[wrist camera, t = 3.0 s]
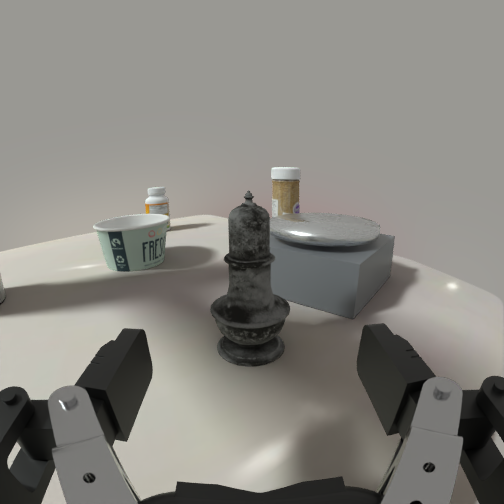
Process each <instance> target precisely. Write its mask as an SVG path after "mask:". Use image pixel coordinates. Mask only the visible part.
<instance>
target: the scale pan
mask: <svg viewBox="0 0 504 504" xmlns="http://www.w3.org/2000/svg"><path fill="white" fill-rule="evenodd" d="M270 235H272V236H274V237H276V238H278V239H281V240H285V241H289V242H294V243H300V244H307V245H317V246H356V245H364V244H369V243H372V242H375V241H377V240H378V239H379V235H380V225H379V224H378V223H376V222H374V221H371V220H368V219H365V218H361V217H355V216H349V215H342V214H330V213H294V214H285V215H279V216H275V217H272V218H271V219H270Z"/></svg>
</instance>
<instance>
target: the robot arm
mask: <svg viewBox="0 0 504 504" xmlns="http://www.w3.org/2000/svg"><path fill="white" fill-rule="evenodd" d="M5 296H6V295H5V291H4V287H3V283H2V279H1V274H0V303H1V302H2V301H3V300H4V298H5ZM152 371H153V368H152V361H151V357H150V352H149V347H148V343H147V338H146V333H145V331H144V330H143V329H127V328H124V329H123V330H122V331H121V333H120V334H119V336H118V337H117V338H116V340H115V341H114V340H111V341H109V342H108V343H107V344H105V345H104V346H102V347H101V348H100V350H99V351H98V352H97V354H96V355H95V357H94V358H93V359H92V361H91V364H89V365H88V366H87V368H86V369H85V371H84V372H83V374H82V375H81V377H80V378H79V379H78V381H77V382H76V384H75V385H74V386H65V387H62V388H59V389H57V390H56V391H55V392H53V393H52V394H51V396H50V397H49V399H48V400H30V398H29V396H28V394H27V392H26V391H25V390H24V389H23V388H21V387H8V388H6V389H4V390H2V391H0V504H41V503H42V500H43V497H44V495H45V492H46V490H47V487H48V485H49V482H50V480H51V477H52V475H53V473H54V470H55V468H56V470H57V474H58V477H59V481H60V484H61V487H62V490H63V494H64V497H65V500H66V502H67V504H449V503H450V500H451V496H452V492H453V488H454V484H455V480H456V476H457V471H458V467H459V462H460V464H461V466H462V468H463V470H464V472H465V474H466V476H467V478H468V480H469V482H470V484H471V487H472V489H473V491H474V493H475V495H476V497H477V500H478V502H479V504H504V458H503V456H502V455H501V453H500V452H499V450H498V448H497V447H496V445H495V443H494V442H493V440H492V438H491V436H492V435H493V433H494V432H495V430H496V431H497V433H498V434H499V436H500V437H501V439H502V440H503V442H504V378H503V377H499V376H491V377H488V378H486V379H485V380H484V381H483V383H482V385H481V388H480V390H462V389H461V387H460V386H459V385H458V384H457V383H456V382H455V381H453V380H451V379H448V378H444V377H436V376H435V375H434V373H433V372H432V371H431V370H430V368H429V367H428V366H427V365H426V363H425V362H424V361H423V360H422V358H421V357H419V355H418V353H417V352H416V351H415V350H414V348H413V347H412V346H411V345H410V344H409V342H408V341H407V340H405V339H403V338H402V337H400V336H398V335H393V333H392V332H391V331H390V330H389V328H388V327H387V326H386V325H385V324H384V323H382V324H372V325H365V326H364V328H363V330H362V336H361V342H360V347H359V352H358V358H357V371H358V375H359V377H360V379H361V381H362V383H363V385H364V387H365V389H366V391H367V394H368V396H369V398H370V400H371V402H372V404H373V406H374V408H375V410H376V412H377V415H378V417H379V419H380V421H381V423H382V425H383V428H384V430H385V432H386V434H387V436H388V435H392V434H396V433H399V434H400V436H401V439H400V441H399V443H398V445H397V448H396V450H395V453H394V455H393V457H392V460H391V462H390V464H389V467H388V469H387V471H386V473H385V475H384V478H383V480H382V482H381V484H380V486H379V487H378V489H377V491H376V492H374V491H371V490H368V489H363V488H358V487H350V486H345V485H344V481H343V478H342V477H336V478H329V479H322V480H314V481H306V482H301V483H297V484H294V485H291V486H287V487H284V488H280V489H276V490H272V491H268V492H264V493H256V492H250V491H245V490H240V489H235V488H230V487H226V486H222V485H218V484H200V483H188V482H178V481H177V486H176V491H175V492H168V493H162V494H158V495H155V496H151V497H149V498H146V499H144V500H141V499H140V497H139V496H138V494H137V492H136V491H135V489H134V487H133V485H132V484H131V482H130V480H129V478H128V476H127V474H126V472H125V471H124V469H123V467H122V465H121V463H120V461H119V459H118V457H117V455H116V453H115V451H114V449H113V447H112V446H113V444H114V441H115V440H120V441H126V442H127V440H128V438H129V435H130V432H131V430H132V427H133V424H134V422H135V419H136V417H137V414H138V411H139V409H140V406H141V404H142V401H143V399H144V396H145V394H146V391H147V389H148V386H149V384H150V381H151V379H152ZM16 442H17V443H18V444H19V445H20V447H21V449H20V451H19V452H18V454H17V456H16V458H15V460H14V462H13V464H12V466H11V468H10V469H9V468H8V465H7V459H8V456H9V454H10V452H11V451H12V449H13V447H14V445H15V443H16Z"/></svg>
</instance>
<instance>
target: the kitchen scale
mask: <svg viewBox="0 0 504 504" xmlns="http://www.w3.org/2000/svg"><path fill="white" fill-rule="evenodd" d="M394 238H395V236H391V235H384V234H380V235H379V239H378V240H377V241H375V242H372V243H369V244H364V245H356V246H317V245H307V244H300V243H294V242H289V241H285V240H281V239H278V238H276V237H274V236H272V235H270V253H272V254H273V255H274V256H275V260H274V262H272V263H271V288H272V292H273V294H275V295H278V296H280V297H282V298H283V299H285V300H288V301H292V302H295V303H298V304H302V305H305V306H309V307H312V308H316V309H319V310H323V311H326V312H330V313H333V314H337V315H340V316H344V317H348V318H351V319H354V318H355V316H356V315H357V314H358V313H359V312H360V311H361V310H362V309H363V307H364V306H365V305H366V304H367V303H368V302H369V300H370V299H371V298H372V297H373V296H374V295H375V293H376V292H377V291H378V290H379V289H380V287H381V286H382V285H383V284H384V283H385V281H386V280H387V279H388V278H389V277H390V272H391V265H392V257H393V248H394Z"/></svg>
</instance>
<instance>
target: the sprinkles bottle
mask: <svg viewBox="0 0 504 504" xmlns="http://www.w3.org/2000/svg"><path fill="white" fill-rule="evenodd" d="M271 178H272V179H273V180H272V182H273V199H272V217H275V216H279V215H285V214H294V213H299V179H300V169H299V168H295V167H276V168H272V170H271Z"/></svg>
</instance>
